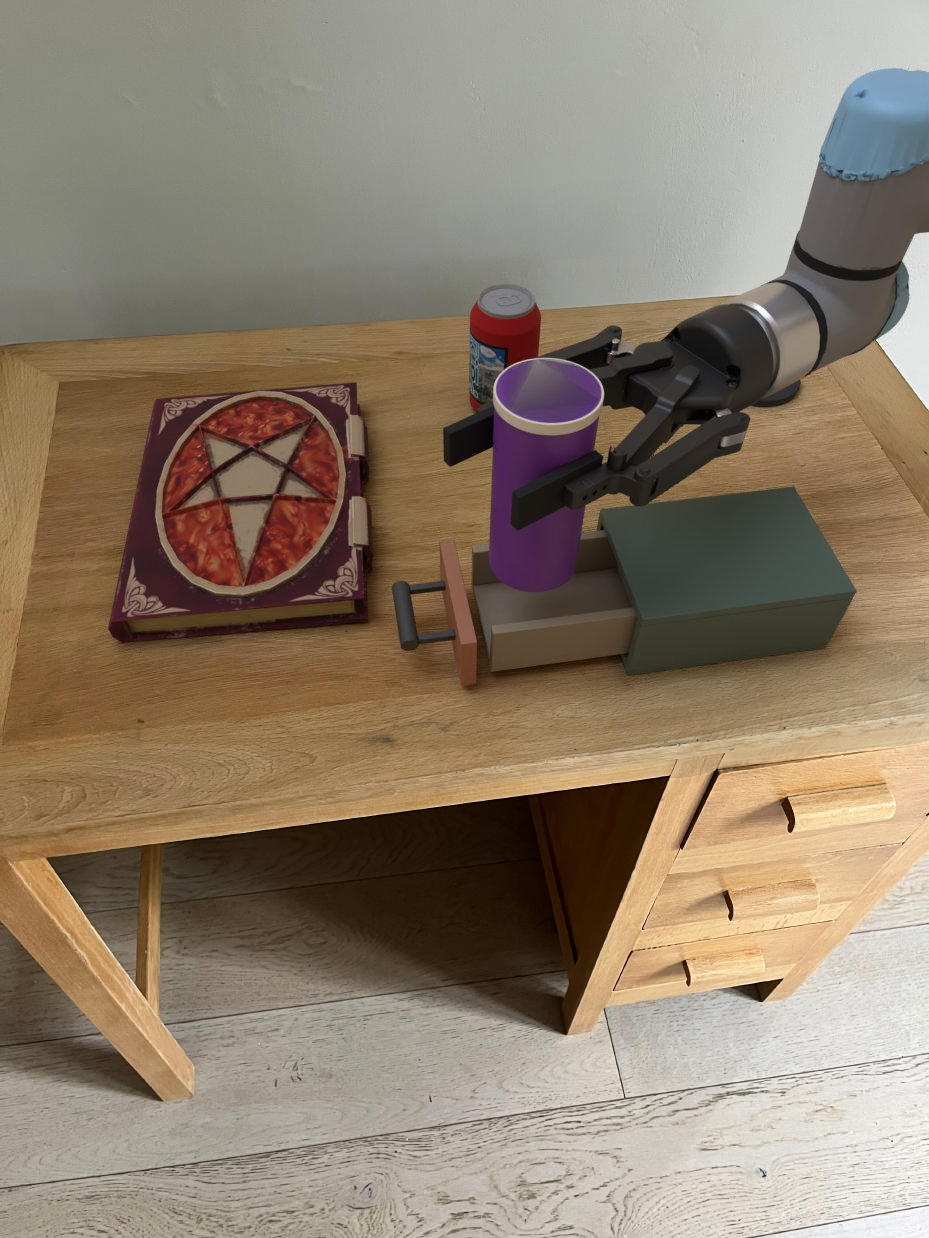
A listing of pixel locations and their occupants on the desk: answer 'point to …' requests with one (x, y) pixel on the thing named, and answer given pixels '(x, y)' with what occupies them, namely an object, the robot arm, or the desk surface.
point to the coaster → (780, 396)
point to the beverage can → (500, 336)
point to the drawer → (526, 612)
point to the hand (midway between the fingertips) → (480, 478)
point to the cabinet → (725, 578)
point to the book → (248, 516)
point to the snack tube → (539, 466)
